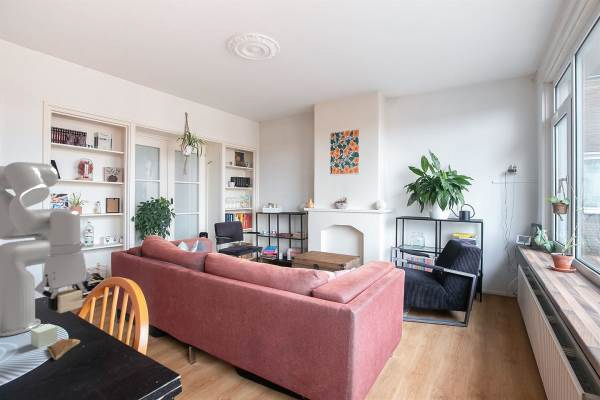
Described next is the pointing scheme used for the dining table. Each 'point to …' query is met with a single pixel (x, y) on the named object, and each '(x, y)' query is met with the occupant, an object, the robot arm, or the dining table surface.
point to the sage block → (43, 335)
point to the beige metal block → (69, 300)
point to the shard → (62, 347)
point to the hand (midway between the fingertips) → (66, 306)
